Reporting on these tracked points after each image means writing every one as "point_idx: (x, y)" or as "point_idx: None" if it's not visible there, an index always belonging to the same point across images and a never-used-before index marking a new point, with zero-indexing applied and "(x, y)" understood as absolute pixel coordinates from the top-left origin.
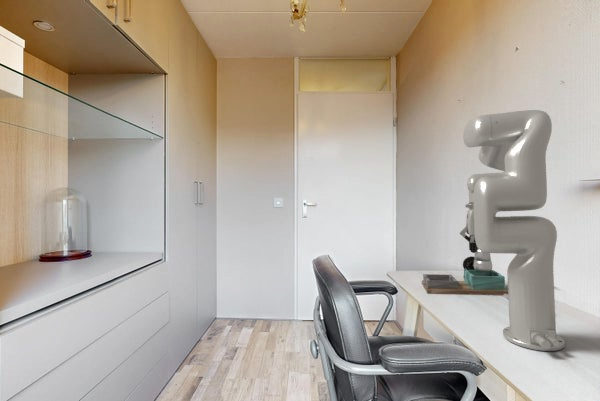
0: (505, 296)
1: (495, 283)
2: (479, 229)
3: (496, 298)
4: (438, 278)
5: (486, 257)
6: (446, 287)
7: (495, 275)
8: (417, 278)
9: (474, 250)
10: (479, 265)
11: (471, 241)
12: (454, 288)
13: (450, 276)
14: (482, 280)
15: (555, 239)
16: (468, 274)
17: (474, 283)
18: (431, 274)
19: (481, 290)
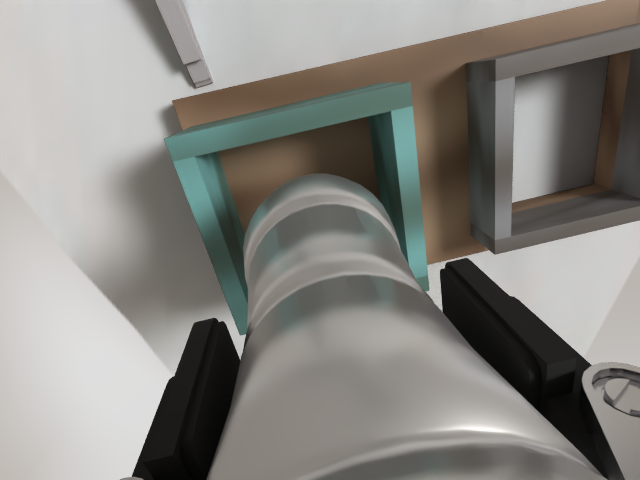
0: (194, 36)
1: (240, 118)
2: None
3: (249, 3)
4: (559, 213)
5: (296, 231)
6: (546, 44)
7: (232, 247)
8: (598, 308)
9: (462, 275)
10: (358, 188)
11: (622, 390)
12: (492, 57)
13: (510, 203)
14: (328, 99)
15: None
16: (416, 183)
17: (379, 85)
18: (615, 223)
19: (330, 75)
